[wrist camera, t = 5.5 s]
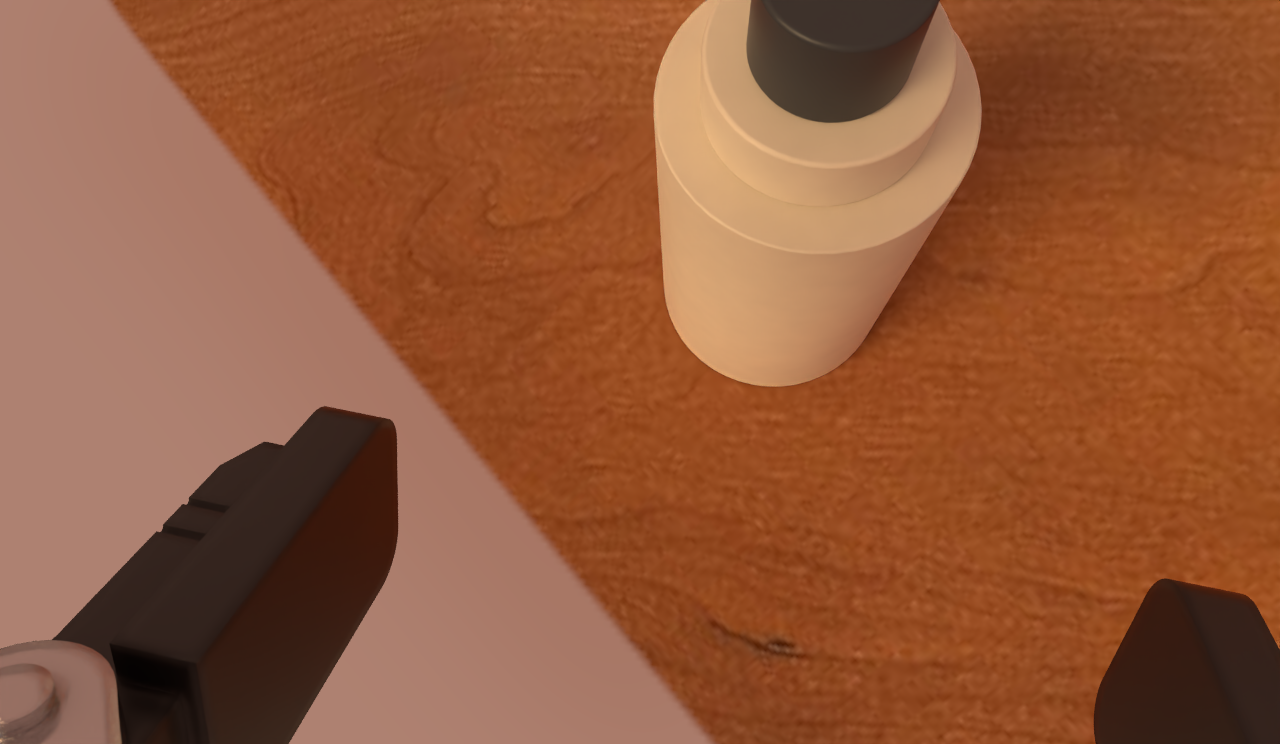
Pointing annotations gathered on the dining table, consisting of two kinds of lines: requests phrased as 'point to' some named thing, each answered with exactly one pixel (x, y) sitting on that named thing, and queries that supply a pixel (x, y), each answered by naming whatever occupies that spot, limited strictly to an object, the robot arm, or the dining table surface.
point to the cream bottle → (803, 172)
